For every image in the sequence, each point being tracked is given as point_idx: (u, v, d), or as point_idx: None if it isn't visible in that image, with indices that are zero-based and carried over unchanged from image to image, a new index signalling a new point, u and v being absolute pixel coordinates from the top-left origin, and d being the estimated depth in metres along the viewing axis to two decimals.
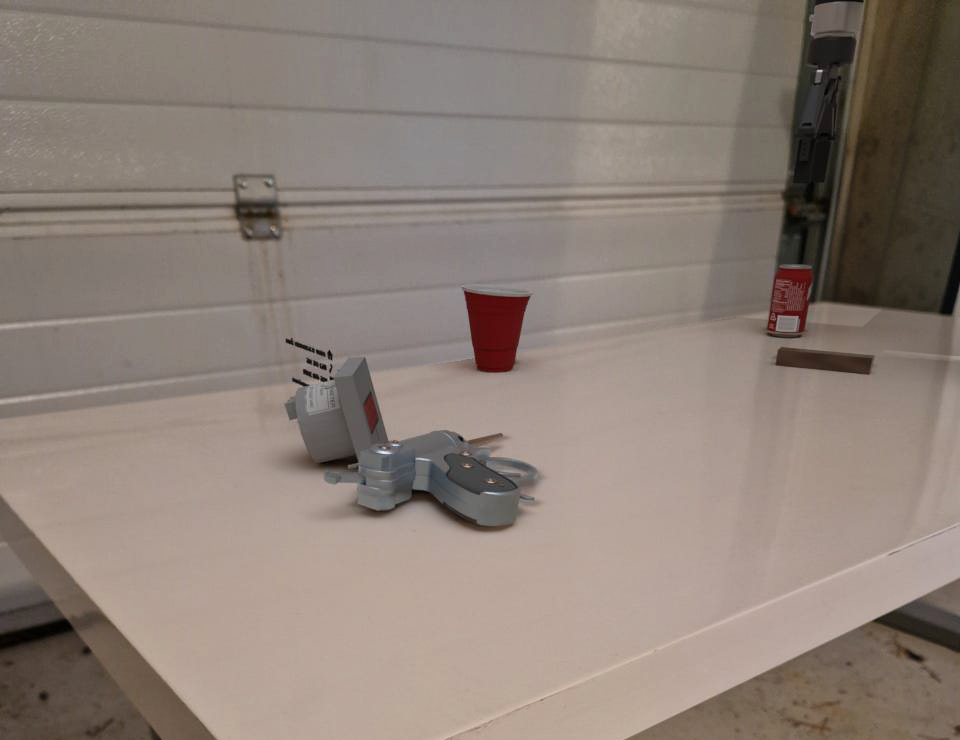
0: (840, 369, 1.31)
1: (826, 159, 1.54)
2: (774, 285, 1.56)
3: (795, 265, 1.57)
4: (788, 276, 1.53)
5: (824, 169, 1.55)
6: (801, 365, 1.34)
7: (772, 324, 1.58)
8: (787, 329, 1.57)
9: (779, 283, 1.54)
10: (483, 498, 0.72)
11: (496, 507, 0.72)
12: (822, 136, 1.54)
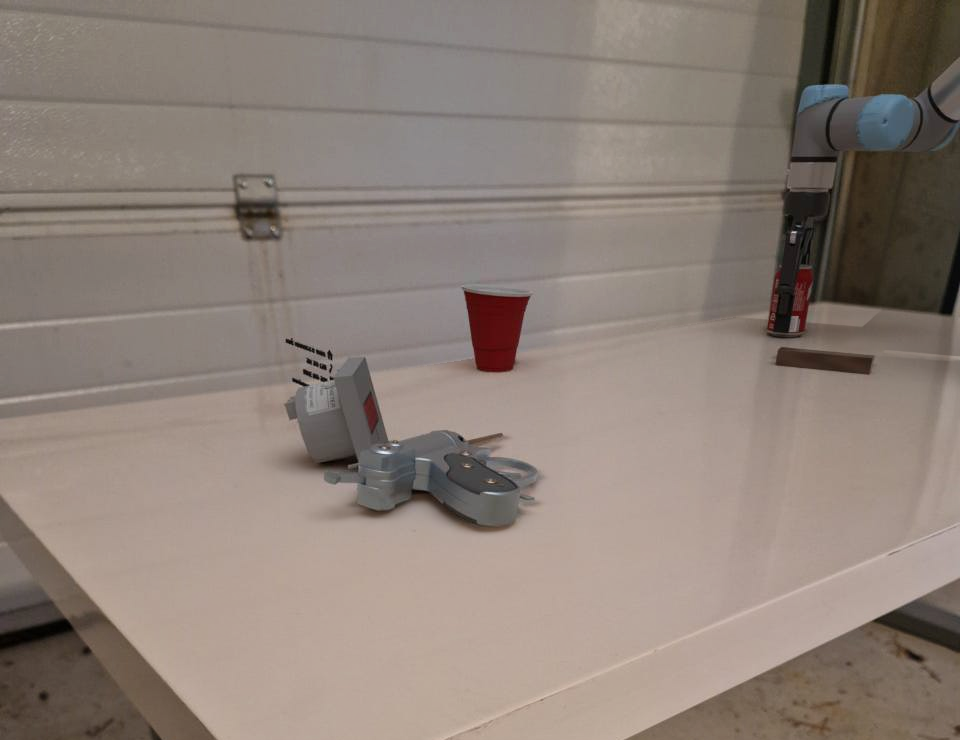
0: (840, 369, 1.31)
1: None
2: (774, 285, 1.56)
3: None
4: None
5: None
6: (801, 365, 1.34)
7: (772, 324, 1.58)
8: None
9: None
10: (483, 498, 0.72)
11: (496, 507, 0.72)
12: None
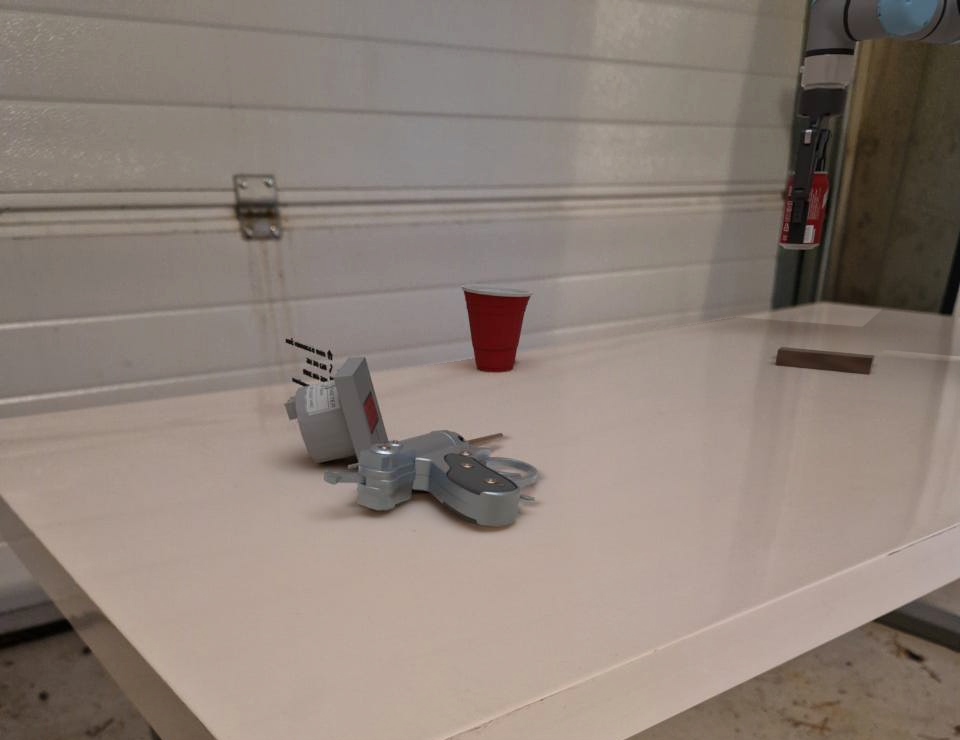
0: (840, 369, 1.31)
1: None
2: (787, 193, 1.48)
3: None
4: None
5: None
6: (801, 365, 1.34)
7: (785, 236, 1.50)
8: None
9: None
10: (483, 498, 0.72)
11: (496, 507, 0.72)
12: None
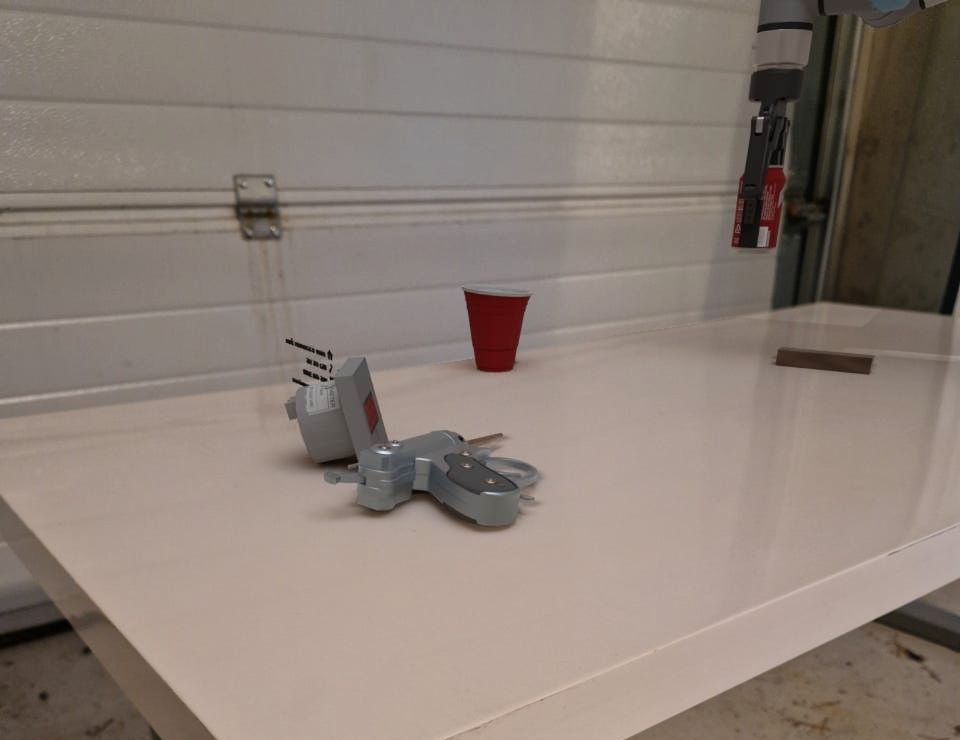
0: (840, 369, 1.31)
1: None
2: (739, 190, 1.30)
3: None
4: None
5: None
6: (801, 365, 1.34)
7: (737, 239, 1.32)
8: None
9: None
10: (483, 498, 0.72)
11: (496, 507, 0.72)
12: None
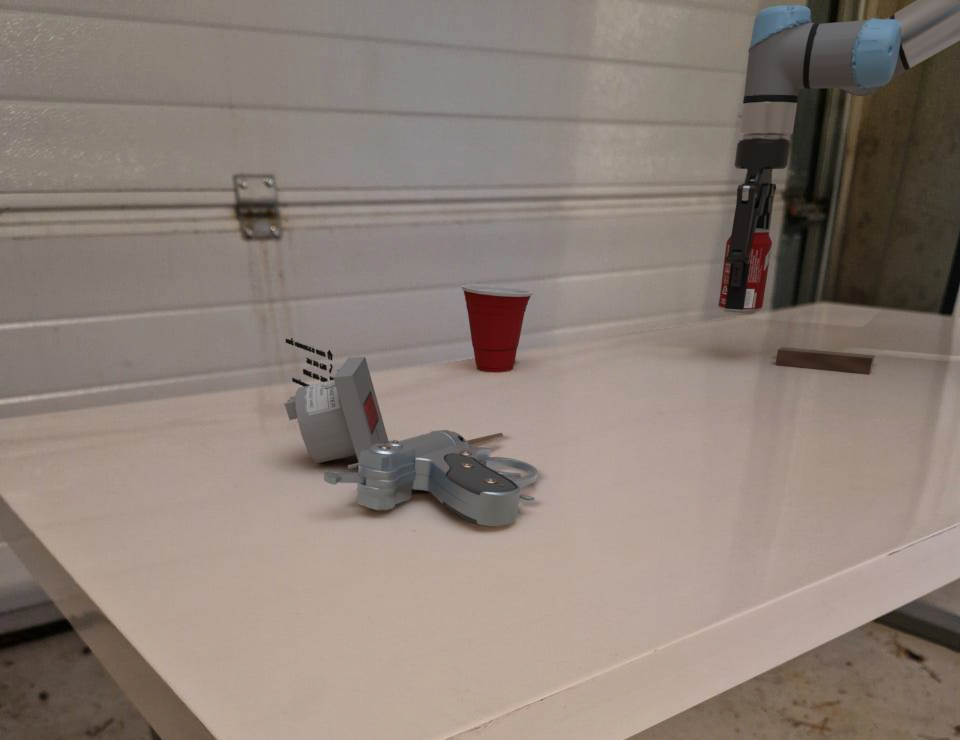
0: (840, 369, 1.31)
1: None
2: (726, 252, 1.32)
3: None
4: None
5: None
6: (801, 365, 1.34)
7: (724, 299, 1.34)
8: None
9: None
10: (483, 498, 0.72)
11: (496, 507, 0.72)
12: None
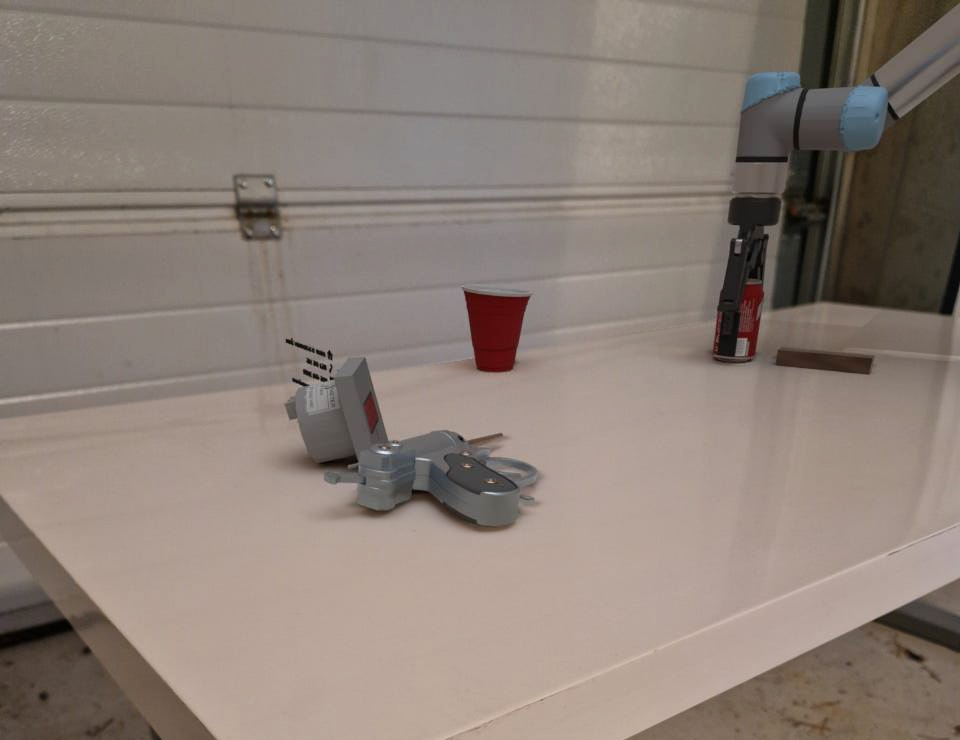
0: (840, 369, 1.31)
1: None
2: (719, 302, 1.36)
3: None
4: None
5: None
6: (801, 365, 1.34)
7: None
8: (735, 353, 1.36)
9: None
10: (483, 498, 0.72)
11: (496, 507, 0.72)
12: None
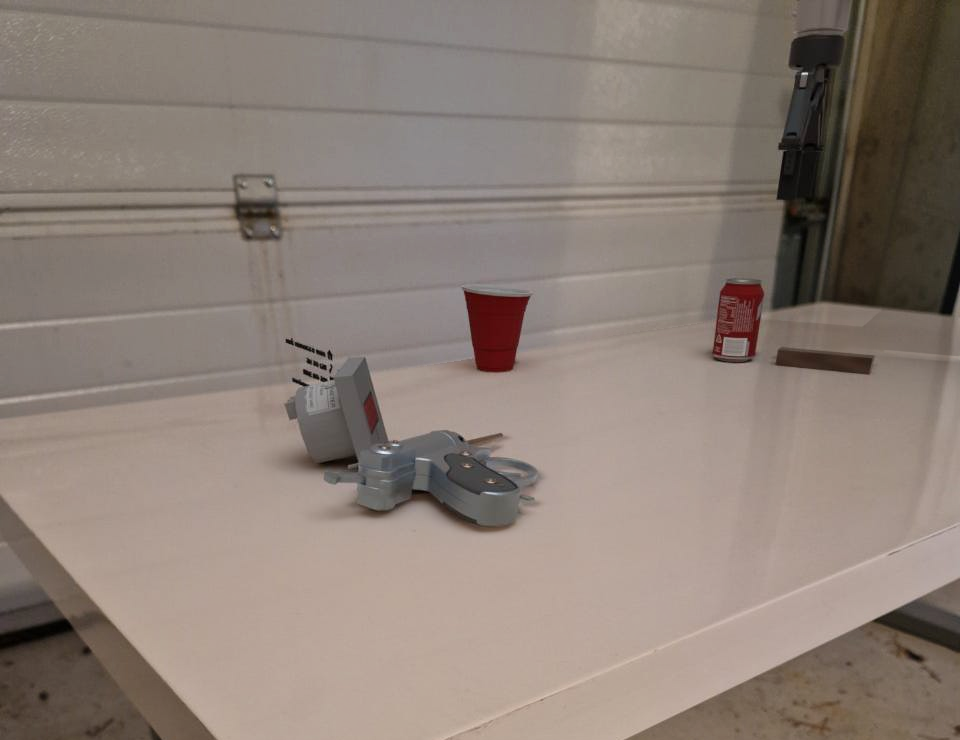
0: (840, 369, 1.31)
1: (812, 172, 1.38)
2: (719, 302, 1.36)
3: (744, 279, 1.36)
4: (734, 293, 1.32)
5: (810, 183, 1.39)
6: (801, 365, 1.34)
7: (718, 347, 1.38)
8: (735, 353, 1.36)
9: (724, 300, 1.34)
10: (483, 498, 0.72)
11: (496, 507, 0.72)
12: (807, 146, 1.38)
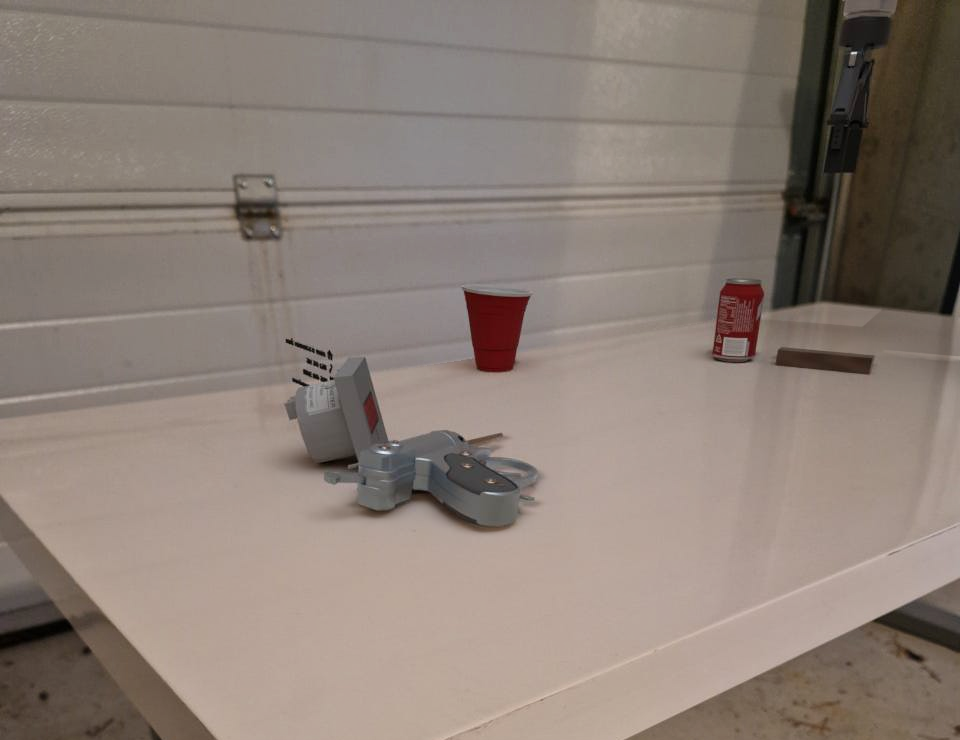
0: (840, 369, 1.31)
1: (857, 148, 1.46)
2: (719, 302, 1.36)
3: (744, 279, 1.36)
4: (734, 293, 1.32)
5: (855, 158, 1.47)
6: (801, 365, 1.34)
7: (718, 347, 1.38)
8: (735, 353, 1.36)
9: (724, 300, 1.34)
10: (483, 498, 0.72)
11: (496, 507, 0.72)
12: (853, 124, 1.46)
